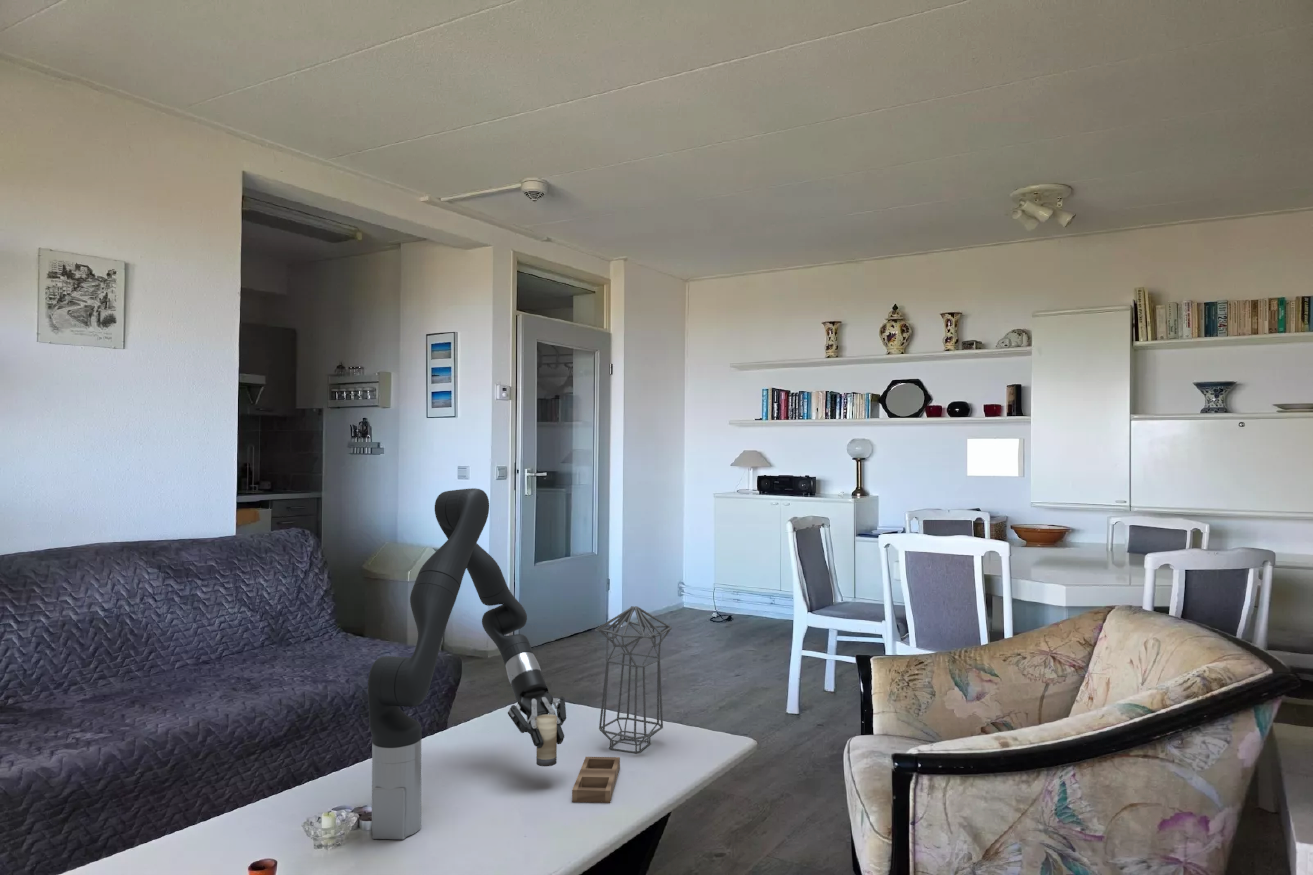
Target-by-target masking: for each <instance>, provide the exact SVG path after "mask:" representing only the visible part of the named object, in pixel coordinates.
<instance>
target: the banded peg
mask: <svg viewBox="0 0 1313 875" xmlns="http://www.w3.org/2000/svg"><path fill="white" fill-rule="evenodd" d="M537 729H539V731H540V734H541V737H542V740H543V743H544V744H543V746H542V747H541V748H537V747H536V757H535V758H536V763H535V764H536V765H537V766H538V767H539V766H540V767H552V766H556V764H557V754H558V753H557V749H558V746H557V745H558V744H557V715H556V716H555V715H551V714H549V713H548V714H545V715H540V716H537Z"/></svg>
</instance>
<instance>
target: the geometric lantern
mask: <svg viewBox="0 0 1313 875" xmlns="http://www.w3.org/2000/svg"><path fill="white" fill-rule="evenodd" d="M634 612H635V615H636V618H637V621H638V622H635V621H631V619H632V615H633V613H634ZM647 616H648V617H650V618H652V619H653V620H655V621H657V622H658V623H660V624H662V625H660V624H659V625H654V623H653V622H652V621H651V620H650V619H649V618H648V617H647ZM612 622H613V623H612ZM624 623H626V624H625V627H624V630H623V633H622V634H621V633H619V630H620V628H621V627H622V625H623V624H624ZM634 625H635V626H639V629H640V630H639V629H638V628H636V627H635V626H634ZM606 626H607V627H606ZM629 626H630V627H631V628H632V629H633V630H634V631H636V632H637V633H638V635H634V634H633V635H632V634H631V635H630V634H628V635H627V630H628V627H629ZM611 628H612V630H610V629H611ZM659 628H663V629H661V630H659ZM672 629H673V627H672V626H671V625H670V624H667V623H666V622H664V621H662V620H661V619H659V618H657V617H656V616H654V615H652V614H651V613H649V612H647V611H646V610H644V609H642V608H641V607H639V606H630V607H629V608H628V609H626V610H624V611H623V612H621V613H619V614H617V615H616V616H615V617H612V618H611V619H610V620H608V621H606V622H605V623H603V624H601V625H599V626H598V627H596V628H594V631H595V632H596V633H598V632H599V633H600V634H601V635H603V636H604V637H605V639H606V645H605V647H606V648H605V661H606V662H605V672H604V680H603V690H602V698H601V705H600V717H599V726H598V730H599V731H600V733H602V734H603V735H604V736H605V737H606V738H607V739H608V740H609V746H608V749H609V750H610V751H619V752H624V753H632V754H639V753H641V752H643V750H645V749H646V748H648V747H649V746H650V745H651V741H652V740H651V737H653V736H654V735H656V734H657V733H658V732H659V731H660V730H662V729H663V730H664V719H663V718H664V716H663V713H664V712H663V697H662V696H663V695H662V677H661V675H662V673H661V669H662V668H661V644H662V642H663V641H664V639H665V638H666V637H667V636H668V634H669V633H670V632H671V630H672ZM645 630H646V632H647V634H648V635H646V634H645ZM655 631H656V632H657V633H654V632H655ZM650 633H651V634H650ZM609 634H612V635H611V636H609ZM617 637H621V642H620V641H619V639H618V638H617ZM658 637H659V641H658V642H657V641H656V640H657V639H656V638H658ZM624 638H635V639H633V640H631V641H629V642H628V643H624V642H625V641H624ZM641 639H650V641H651V642H650V643H651V644H652V646H651V648H650V650H649V651H648V653H647V654H642V653H641V654H640V653H635V652H633V650H634V649H635V648H636V646H637V645H638V643H639V642H640V641H641ZM615 640H616V641H617V643H618V644H617V643H616V642H615ZM609 642H610V643H612V647H613V649H612V650H611V653H610V654H609ZM656 642H657V643H656ZM621 643H622V644H621ZM632 644H633V646H632V648H631V649H630V650H629V649H628V646H631V645H632ZM657 647H658V651H657ZM616 648H621V650H622V651H623V652H620V653H618V654H616V655H613V653H614V651H615V650H616ZM653 648H654V651H655V654H656V656H654V655H650V654H651V651H652V650H653ZM612 655H613V656H612ZM626 655H627V656H629V660H628V661H629V663H627V664H626V663H625V658H626V657H625V656H626ZM632 655H633V656H641V657H645V658H644V661H643V662H642V664H637V663H636V662H635V660H634V658H633V656H632ZM619 656H622V659H621V662H616V661H610V660H611V659H613V658H616V657H619ZM648 658H654V659H656V660H654V661H650V662H648V663H647V664H645V663H646V661H647V659H648ZM654 663H655V664H656V663H657V665H656V666H657V672H656V673H657V678H656V679H657V681H656V682H657V684H656V685H657V686H656V688H657V689H656V690H657V691H656V692H657V693H656V699H657V700H656V721H649V720H647V715H646V714H647V711H646V710H647V706H646V670H645V669H646V667H647V666H650V665H652V664H654ZM610 664H613V665H614V664H615V665H620V666H621V670H620V671H621V672H620V682H619V692H618V704H617V714H616V718H614V719H613V720H611V721H609V722H607V723H606V716H607V715H606V713H607V702H608V701H607V699H608V698H607V697H608V680H609V668H610V666H609V665H610ZM625 667H628V680H627V681H628V682H627V683H628V686H627V702H626V716H625V717H622V716H621V717H620V712H621V711H620V710H621V703H622V691H623V679H624V668H625ZM632 668H635V670H634V671H635V672H634V674H635V675H634V679H635V680H634V709H633V710H634V711H633V712H634V713H633V714H634V715H633V716H634V717H633V718H632V717H630V697H631V679H632V677H631V674H632ZM638 668H642V696H643V697H642V699H643V700H642V702H643V703H642V704H643V719H640V718H637V716H638V715H637V713H638V712H637V709H638V704H637V703H638ZM619 720H621V721H623V720H625V723H624V730H623V729H622V726H621V724H620V721H619ZM628 720H629V721H633V731H629V730H627V725H628V724H627V723H628ZM615 722H616V723H617V724H618V727H619V730H620V731H619V732H613V731H609V730H605V729H606V727H608V726H610V725H611V724H613V723H615ZM637 722H639V723H643V733H641V732H638V731H637ZM647 724H650V725H654V726H653V728H652V729H651V730H650V732H649V733H647ZM657 726H659V727H658V728H657ZM656 728H657V729H656ZM622 733H623V734H622ZM627 733H628V734H633V736H632V735H626V734H627ZM609 735H614V736H612V737H610V736H609ZM637 735H640V736H637ZM616 737H619V738H618V740H616V739H614V738H616ZM625 740H626V741H625ZM631 740H632V742H634V743H632V742H627V741H631ZM639 741H640V742H639ZM637 742H639V743H637ZM646 742H647V744H646V745H645V746H643V747H642V744H644V743H646ZM617 743H621V744H624V745H625V744H626V745H630V746H631V745H632V746H635V748H634V749H635V751H633V750H627V749H626V750H625V749H621V748H620V749H619V748H614V746H615V745H617ZM649 744H650V745H649ZM638 746H639V749H638Z"/></svg>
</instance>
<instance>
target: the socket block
mask: <svg viewBox="0 0 1313 875" xmlns="http://www.w3.org/2000/svg"><path fill="white" fill-rule="evenodd" d="M620 769H621V756H620V757H617V756H585V758H584V760H583V763H582V765H581V768H580V769H579V772H578V775H577V778H576V779H575V782H574V784H573V787H572V789H571V797H572V798H571V802H572V803H594V804H595V803H601V804H602V803H605V804H606V803H607V804H608V803H609V804H611V801H612V797H613V794H614V790H615V787H616V784H617V780H618V776H619V774H620Z"/></svg>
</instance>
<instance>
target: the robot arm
mask: <svg viewBox="0 0 1313 875" xmlns="http://www.w3.org/2000/svg"><path fill="white" fill-rule="evenodd" d="M489 512H490V501H489V497H488V495H487V493H486V492H485V491H484V490H483V489H481V488H476V487H475V488H474V487H472V488H461V489H454V490H446V491H445V490H444V491H443V492H441V493H440V494H439V495H438V496H437V497H436V499H435V502H434V515H435V518H436V521H437V523H438V526H439V527H440V529H441V530H442V532H443V534H444V535H445V537H446V539H447V540H446V541H445V542H444V543H443V544H442V545H440V547H439V548H437V550H436V551H435V552H434V553H433V554H432V555H430V556H429V558H428V559H427V560H426V561H425V562H424V563H423V565H422V566H421V568H420V569H419V571H418V573H417V576H416V579H415V581H414V584H413V586H412V589H411V593H410V596H409V602H410V604H409V605H410V608H411V612H412V615H413V620H414V622H415V626H416V630H417V641H416V645H415V648H414V651H413V654H412V655H411V657H407V656H406V657H405V656H391V655H390V656H387V655H386V656H380V657H378V658H377V659H376V660H375V661H374V662H373V664H372V665H371V668H370V670H369V673H368V679H367V702H368V722H369V725H368V726H369V730H370V733H371V740H372V741H371V745H372V746H371V749H372V750H371V754H372V755H371V834H372V836H371V838H372V840H374V839H375V840H405V839H406V838H407V837H409V836H412V835H414V834H416V833H417V832H419V831H420V829H421V828H422V733H423V732H422V730H423V729H422V725H421V723H420V721H418V720H417V719H415V718H412V717H411V716H409V715H407V714H406V713H405V712H404V711H403V710H402V709H401V708H400V707H406V708H407V707H408V708H415V707H418V706H420V705H421V704H422V703H423V702H424V701H425V699H426V698H427V695H428V693H429V691H430V688H431V685H432V681H433V677H434V673H435V669H436V665H437V661H438V657H439V652H440V650H441V649H440V648H441V645H442V641H443V637H444V635H445V631H446V629H447V625H448V623H449V622H448V621H449V619H450V616H451V613H452V612H453V609H454V605H455V603H456V600H457V597H458V594H459V592H460V589H461V587H462V586H461V585H462V582H463V579H464V575H465V573H466V571H467V572H468V574H469V576H470V578H471V580H472V582H473V586H474V587H475V591H476V593H477V595H478V597H479V600H480V602H481V603H482V604H483V605H484V606H488V607H489V606H490V607H491V606H496V607H494V608H491V609H489V610H487V611H485V612H484V614H483V615H482V617H481V624H482V628H483V630H484V631H485V633H486V634H487V636H488V637H489V638H490V639H491V640H492V642H493V643H494V644H495V646H496V647H497V649H498V651H499V652H500V656H501V659H502V660H503V663H504V667H505V669H506V674H507V675H506V676H507V677H508V682H509V683H510V686H511V689H512V692H513V694H514V697H515V700H516V702H517V704H512V705H510V708H509V710H508V712H507V715H508V716H509V718H510V719H511V721H512V722H513V724H514V725H515V726H516V728H517V729H518V731H519V732H520V734H521V733H522V734H525V733H528V734H529V735H530V738H531V740H532V742H533V745H534V747H536V749H537V748H541V747H542V746H543V744H544V743H543V740H542V737H541V734H540V731H539V729H537V716H540V715H545V714H551V715H555V716H557V745H561V744H562V743H563V741H564V740H565V733H564V731H563V728H562V726H563V724H564V722H566V720H567V709H566V699H565V697H564V696H560V697H559V698H556V697H553V696H552V695H551V694H550V692H549V688H548V685H547V682H546V679H545V677H544V675H543V672H542V670H541V666H540V664H539V661H538V659H537V658H536V656H535V654H534V651H533V649H532V646H531V644H530V641H529V639H528V637H527V636H526V635H524V634H521V633H515V634H511V633H514V632H515V631H518V630H521V629H523V627H525V625H526V624H527V620H528V614H527V612H526V610H525V608H524V607H523V605H522V604H521V603H520V601H518V600H517V598H516V597H515V596H514V594H513V593H512V592H511V590H510V589H509V586H508V585H507V582H506V578H505V577H504V574H503V571H502V568H500V566H499V564H498V562H497V561H496V560H495V559H494V557H492V555H490V554H489V553H488V552H487V551H486V550H485V549H484V548H483V547H481V545H479V544H478V540H479V538H480V536H481V535H482V532H483V530H484V528H485V526H486V523H487V521H488V517H489V514H490V513H489ZM509 634H510V635H509ZM552 706H554V707H552ZM555 709H556V710H555ZM521 712H522V713H521ZM523 714H524V715H525V716H526V719H525V717H524V716H523Z"/></svg>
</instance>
